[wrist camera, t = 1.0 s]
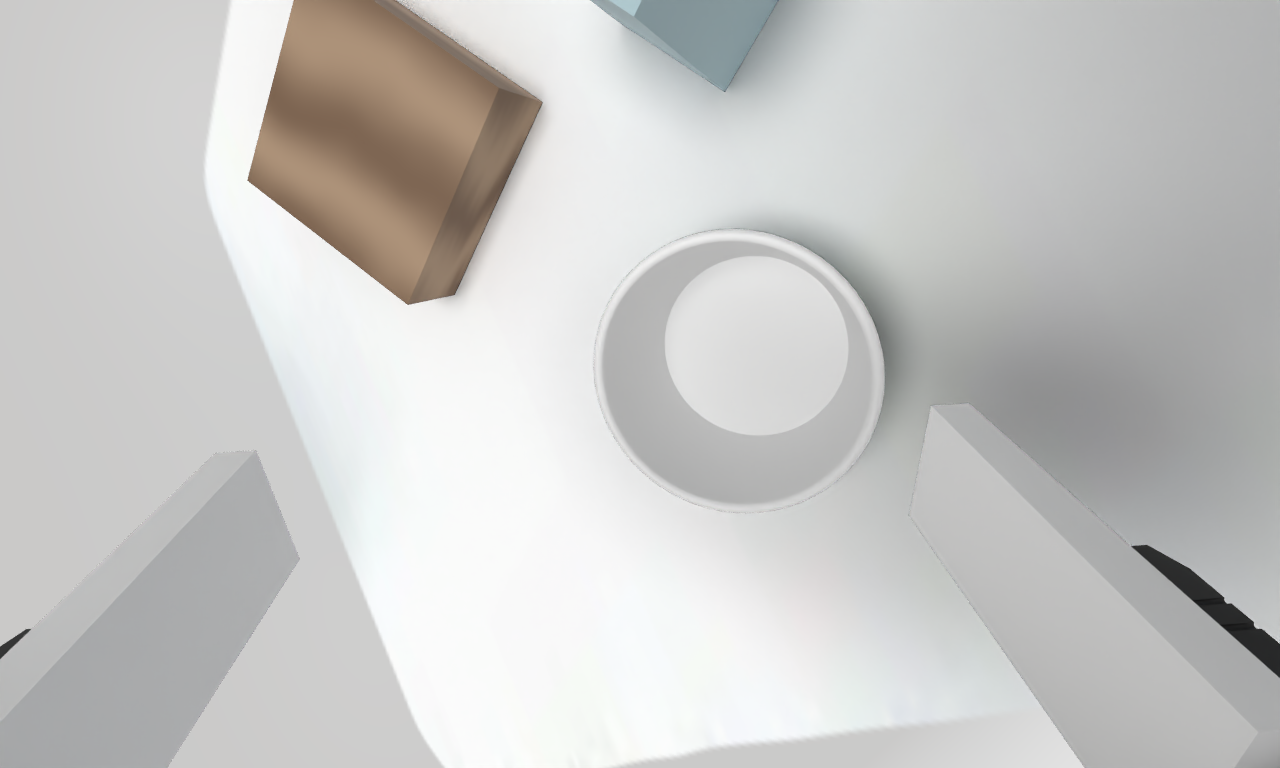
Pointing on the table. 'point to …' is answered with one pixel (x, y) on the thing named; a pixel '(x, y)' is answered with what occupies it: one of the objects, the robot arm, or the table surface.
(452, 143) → the walnut block
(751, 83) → the table surface
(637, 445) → the food container
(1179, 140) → the table surface
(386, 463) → the table surface
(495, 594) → the table surface
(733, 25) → the grey-teal block
